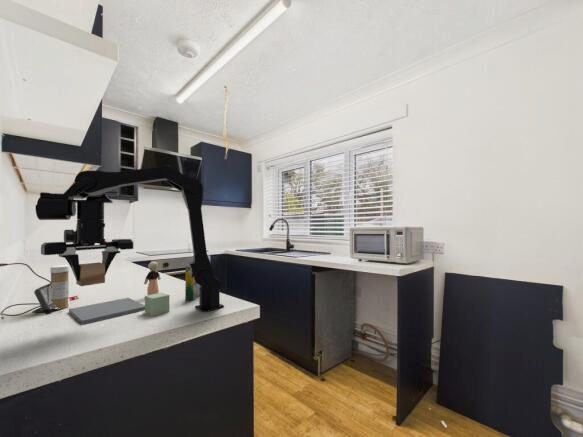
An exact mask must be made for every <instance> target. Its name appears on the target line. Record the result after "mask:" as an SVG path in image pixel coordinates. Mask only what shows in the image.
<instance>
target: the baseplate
mask: <svg viewBox="0 0 583 437" xmlns="http://www.w3.org/2000/svg"><path fill="white" fill-rule="evenodd" d="M143 311H145V304H143V303H140V302H139V301H136V300H134V299H132V298H130V297H125V298H119V299H114V300H108V301H105V302H98V303H93V304H89V305H83V306H77V307H73V308H68V313H69V314H70V315H71V316H73V318H74V319H76V320H77V321H78V322H79V324H81V325H85V324H89V323H96V322H99V321H102V320H103V321H104V320H107V319H112V318H115V317H121V316H124V315H129V314H133V313H137V312H143Z"/></svg>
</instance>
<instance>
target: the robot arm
mask: <svg viewBox="0 0 583 437" xmlns="http://www.w3.org/2000/svg"><path fill="white" fill-rule="evenodd" d="M161 181H164V182H166V183H168V184H170V185H171V186H172V187H173V188H175V189H176V190H178V191H180V192H181V195H182V198H183V201H184V204H185V206H186V209H187V213H188V220H189V221H188V222H189V229H190V236H191V238H190V239H191V245H192V246H191V247H192V251H193V252H192V253H193V256H192V260H191V261H190V260H189V261H188V262H187V263H188V266H190V267H189V269H190V273H189V274H190V276H191V277H193V279H194V280H195V282H196V283H197V284H199V285H200V286H201V287H199V296H198V297H199V299H198V300H199V301H198V302H199V303H198V305H195V306H194V308H195V309H197V310H200V311H201V312H210V311H214V310H217V309H220V308H224V307H225V305H224V304H222V303H220V302H221V300H220V297H221V296H220V292H221V291H220V289H221V286H222V281H220V280H219V279H218V278H217V277H216V276H215V272H214V270H213V266H212V264H211V261H210V259H209V256H208V253H207V252H208V251H207V246H206V245H207V244H206V236H205V228H204V220H203V212H202V205H203V197H204V186H203V183H202V182H201V181H200V180H199V179H196V178H190V177H189V176H188V175H185V174H184V173H182V172H180V171H178V170H176V169H174V168H173V167H172V166H170V165H168V164H164V165H160V166H154V167H145V168H139V169H129V170H121V171H105V170H83V171H80V172H78V174H77V175H76V176H75V177H74V182H73V184H72V185H71V186H69V188H67V189H66V190H65V192H63V193H51V192H43V191H42V192H40V193H39V198H38V200H37V202H36V204H35V214H36V218H37V219H38V220H39V221H68V220H70V219H71V217H75V216H76V228H75V230H74V229H64V231H63V241H51V242H50V241H49V242H46V241H45V242H43V243H42V244H40V254H41V255H43V256H53V255H54V256H55V255H58V257H60V258H62V259H63V258H64V260H66V262H67V263H68V265H69V268H71V271H72V273H73V277H74V278H75V281H76V280H77V281H79V278H80V270H79V264H80V259H79V253H76V251H89V250H101V256H102V261H101V263H104V264H105V276H106V275H107V272H108V270H109V268H110V266H111V264H112V261H114V259H115V257H116V255H117V254H121V251H122V250H134V241H133V240H132V238H115V239H114V238H113V239H111V241H106V239H105V228H106V223H105V204H113V203H114V202H113V200H112V199H110V198H109V196H108V194H106V193H108V192H111V191H113V190H116V189H118V188H119V189H120V188H122V187H127V186H129V187H130V186H134V185H135V186H136V185H141V184H147V183H154V182H155V183H156V182H161ZM98 195H101V196H98ZM102 249H104V250H102Z"/></svg>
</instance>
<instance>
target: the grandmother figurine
mask: <svg viewBox="0 0 583 437" xmlns="http://www.w3.org/2000/svg"><path fill="white" fill-rule="evenodd" d="M147 267H148V269H149V271H148V273H147V275H146V276H145V278H144V282H143V284H144V285H147V284H148V285H147V290H146V291H147V293H146V296H147V295H152V294H157V293H160V291H159V290H160V289H159V285H158V284H159V282H158V281H160V280H161V276H160V273H159V271H158V267H159V264H158V262H156V261H152V262H150V263H148V265H147Z"/></svg>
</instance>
